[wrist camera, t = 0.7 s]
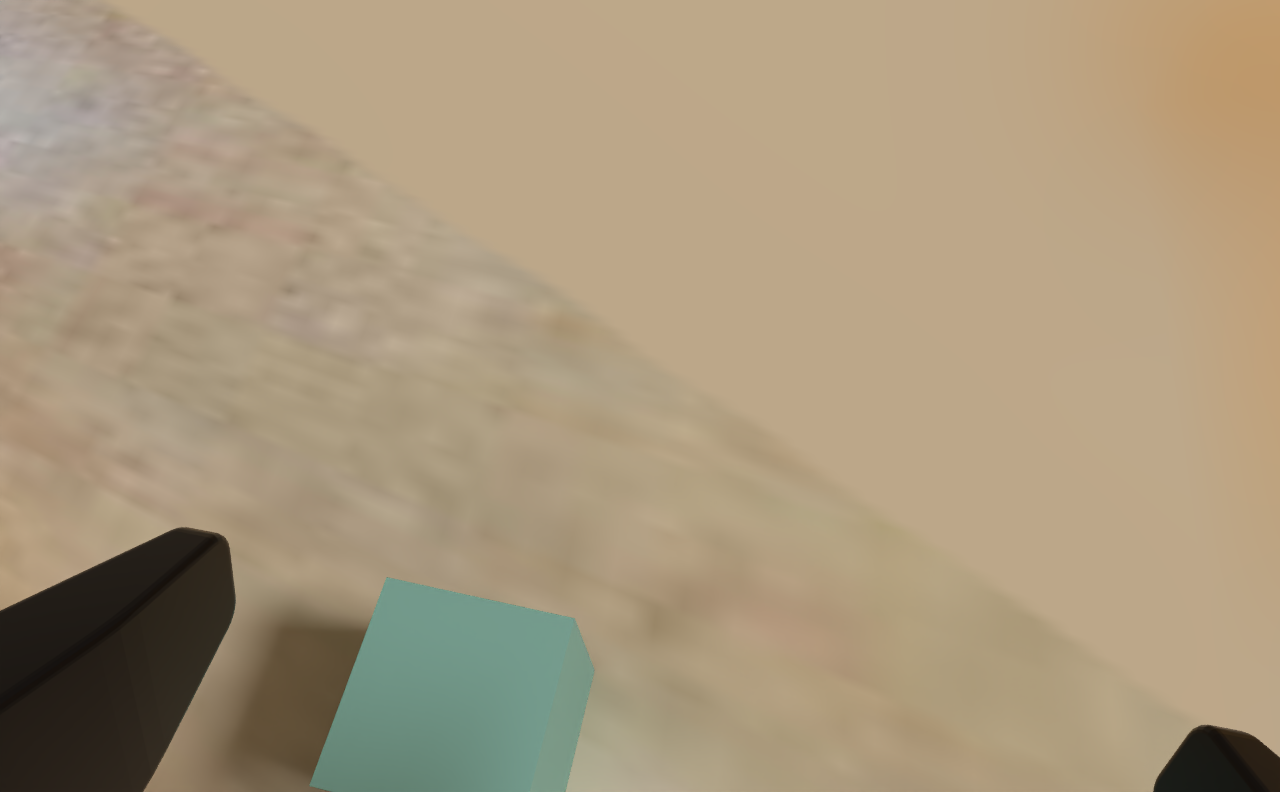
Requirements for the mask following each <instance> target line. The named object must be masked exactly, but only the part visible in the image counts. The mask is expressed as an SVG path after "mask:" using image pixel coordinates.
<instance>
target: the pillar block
mask: <svg viewBox="0 0 1280 792" xmlns="http://www.w3.org/2000/svg"><path fill="white" fill-rule="evenodd" d="M593 675H594V667H593V665H592V662H591V660H590V657H589V654H588V652H587V649H586V647H585V644H584V641H583V639H582V636H581V634H580V631H579V629H578V626H577V623H576V621H575V618H570V617H566V616H561V615H557V614H552V613H548V612H543V611H538V610H534V609H529V608H525V607H520V606H516V605H511V604H507V603H502V602H497V601H493V600H488V599H484V598H479V597H475V596H470V595H465V594H461V593H456V592H452V591H447V590H443V589H438V588H434V587H429V586H424V585H420V584H415V583H411V582H406V581H402V580H397V579H392V578H388V577H387V578H386V580H385V583H384V586H383V588H382V591H381V594H380V597H379V599H378V602H377V605H376V607H375V610H374V613H373V615H372V618H371V621H370V623H369V626H368V629H367V632H366V634H365V637H364V640H363V642H362V645H361V648H360V650H359V653H358V656H357V658H356V661H355V664H354V667H353V669H352V672H351V675H350V677H349V680H348V683H347V685H346V688H345V691H344V694H343V696H342V699H341V702H340V704H339V707H338V710H337V712H336V715H335V718H334V720H333V723H332V726H331V729H330V731H329V734H328V737H327V739H326V742H325V745H324V747H323V750H322V753H321V755H320V758H319V761H318V764H317V766H316V769H315V772H314V774H313V777H312V780H311V782H310V785H309V786H311V787H315V788H319V789H323V790H327V791H331V792H565V791H566V787H567V783H568V779H569V775H570V770H571V766H572V762H573V758H574V754H575V750H576V745H577V741H578V737H579V733H580V729H581V725H582V720H583V716H584V712H585V708H586V704H587V700H588V695H589V691H590V687H591V683H592V679H593Z"/></svg>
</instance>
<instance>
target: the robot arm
mask: <svg viewBox="0 0 1280 792" xmlns="http://www.w3.org/2000/svg"><path fill="white" fill-rule="evenodd" d="M235 602H236V598H235V588H234V580H233V571H232V563H231V555H230V548H229V543H228V541H227V540H226V538H225V537H224V536H222V535H220V534H218V533H214V532H208V531H203V530H198V529H193V528H188V527H181V528H176V529H174V530H171V531H169V532H166V533H164V534H162V535H160V536H158V537H156V538H154V539H152V540H149V541H147V542H145V543H143V544H141V545H139V546H137V547H135V548H132V549H130V550H128V551H126V552H124V553H122V554H120V555H118V556H115V557H113V558H111V559H109V560H107V561H105V562H103V563H101V564H98V565H96V566H94V567H92V568H90V569H88V570H86V571H84V572H81V573H79V574H77V575H75V576H73V577H71V578H69V579H67V580H64V581H62V582H60V583H58V584H56V585H54V586H52V587H50V588H47V589H45V590H43V591H41V592H39V593H37V594H35V595H33V596H30V597H28V598H26V599H24V600H22V601H20V602H18V603H16V604H13V605H11V606H9V607H7V608H5V609H3V610H1V611H0V792H143V791H144V789H145V788H146V786H147V784H148V783H149V781H150V779H151V778H152V776H153V774H154V772H155V771H156V769H157V767H158V765H159V763H160V761H161V759H162V758H163V756H164V754H165V752H166V750H167V748H168V746H169V744H170V742H171V740H172V738H173V736H174V734H175V732H176V730H177V728H178V726H179V724H180V722H181V720H182V718H183V717H184V715H185V713H186V711H187V709H188V707H189V705H190V703H191V701H192V699H193V697H194V695H195V693H196V691H197V689H198V687H199V685H200V683H201V681H202V679H203V677H204V675H205V673H206V671H207V669H208V667H209V665H210V663H211V661H212V659H213V657H214V655H215V653H216V651H217V649H218V647H219V645H220V643H221V641H222V639H223V638H224V636H225V634H226V632H227V630H228V628H229V625H230V623H231V621H232V618H233V614H234V610H235ZM1153 792H1280V757H1278V756H1277V755H1276V754H1275V753H1274V752H1272V751H1271V750H1270V749H1269V748H1268V747H1267V746H1265V745H1264V744H1263V743H1262V742H1260V740H1258V739H1257V738H1256V737H1254V736H1252V735H1250V734H1248V733H1245V732H1242V731H1237V730H1233V729H1228V728H1222V727H1217V726H1212V725H1201V726H1198V727H1196V728H1194V729H1193V730H1192V731H1191V732H1190V733H1189V734H1188V735H1187V737H1186V738H1185V740H1184V741H1183V742H1182V744H1181V745H1180V746H1179V748H1178V749H1177V751H1176V752H1175V753H1174V755H1173V756H1172V758H1171V759H1170V760H1169V762H1168V763H1167V764H1166V766H1165V767H1164V769H1163V770H1162V771H1161V773H1160V774H1159V776H1158V777H1157V779H1156V782H1155V785H1154V791H1153Z"/></svg>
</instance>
